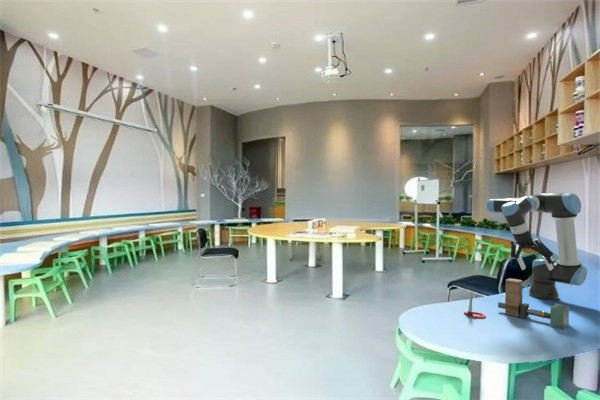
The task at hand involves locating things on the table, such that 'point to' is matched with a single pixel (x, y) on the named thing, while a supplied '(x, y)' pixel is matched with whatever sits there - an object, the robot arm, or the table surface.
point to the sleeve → (513, 296)
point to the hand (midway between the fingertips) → (537, 269)
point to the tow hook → (469, 312)
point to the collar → (524, 310)
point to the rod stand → (549, 314)
